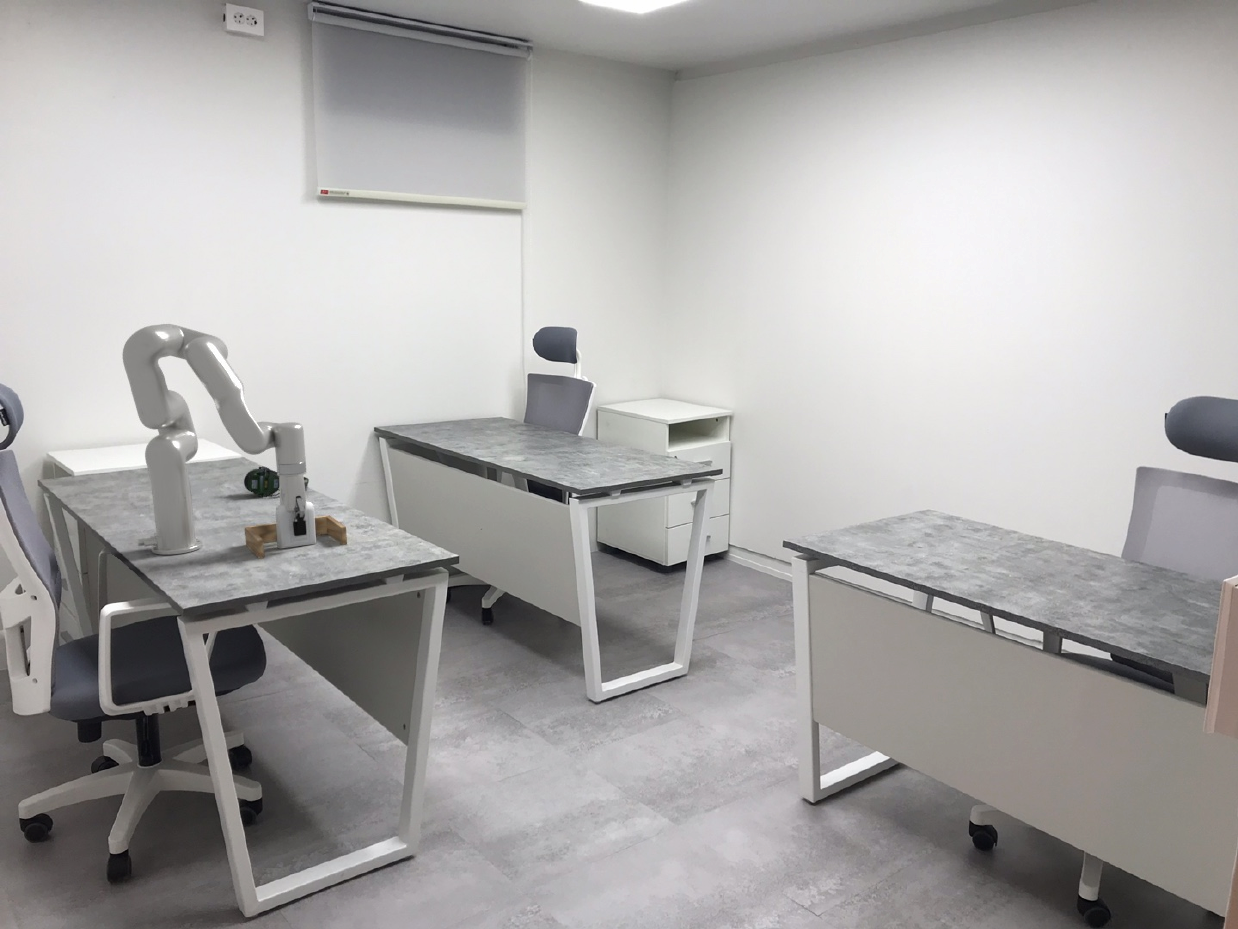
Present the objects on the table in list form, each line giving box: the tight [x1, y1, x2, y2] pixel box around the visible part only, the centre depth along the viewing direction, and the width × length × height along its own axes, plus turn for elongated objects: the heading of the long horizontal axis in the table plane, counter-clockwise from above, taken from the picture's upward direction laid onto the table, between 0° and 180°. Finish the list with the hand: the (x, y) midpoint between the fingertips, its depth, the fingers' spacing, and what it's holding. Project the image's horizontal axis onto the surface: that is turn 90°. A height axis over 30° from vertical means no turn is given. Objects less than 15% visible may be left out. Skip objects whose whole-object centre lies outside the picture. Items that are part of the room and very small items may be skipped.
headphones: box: [243, 466, 310, 498], centre depth 324 cm, size 13×13×20 cm
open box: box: [244, 515, 348, 559], centre depth 263 cm, size 23×16×5 cm
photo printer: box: [275, 500, 317, 549], centre depth 261 cm, size 10×4×12 cm, turn 123°
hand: (296, 531), depth 262 cm, fingers open, 7 cm apart
